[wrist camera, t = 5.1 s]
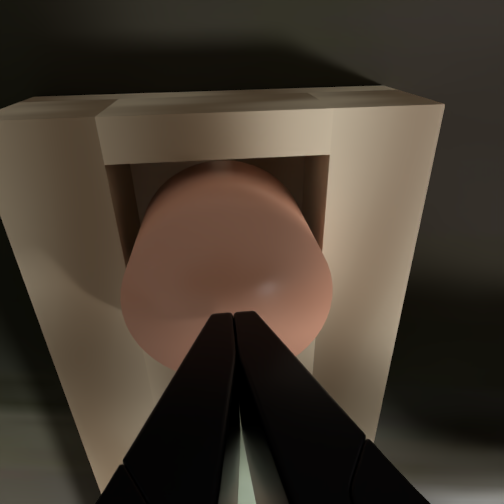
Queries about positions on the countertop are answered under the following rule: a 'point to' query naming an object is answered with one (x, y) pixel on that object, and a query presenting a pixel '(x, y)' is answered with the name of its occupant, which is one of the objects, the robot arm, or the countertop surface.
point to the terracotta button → (223, 261)
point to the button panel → (170, 163)
